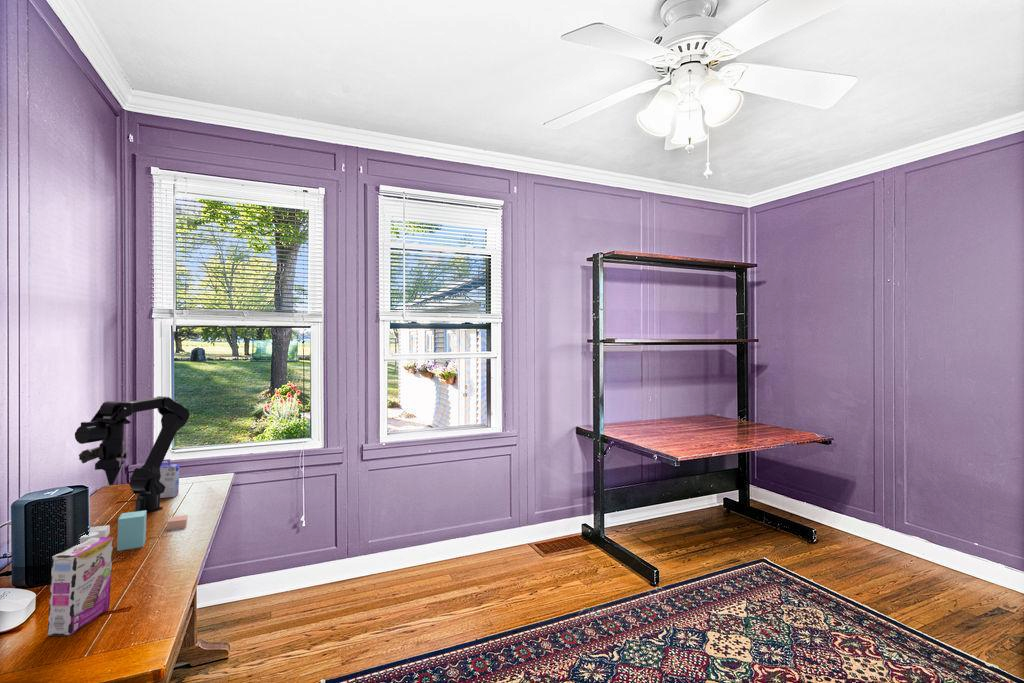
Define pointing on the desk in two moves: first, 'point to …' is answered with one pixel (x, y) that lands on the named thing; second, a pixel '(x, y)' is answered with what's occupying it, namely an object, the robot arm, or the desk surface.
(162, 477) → the ink cartridge box
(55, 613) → the candy bar box
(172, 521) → the terracotta block
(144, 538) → the teal upright rectangular block
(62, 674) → the desk surface
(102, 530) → the pale grey block
